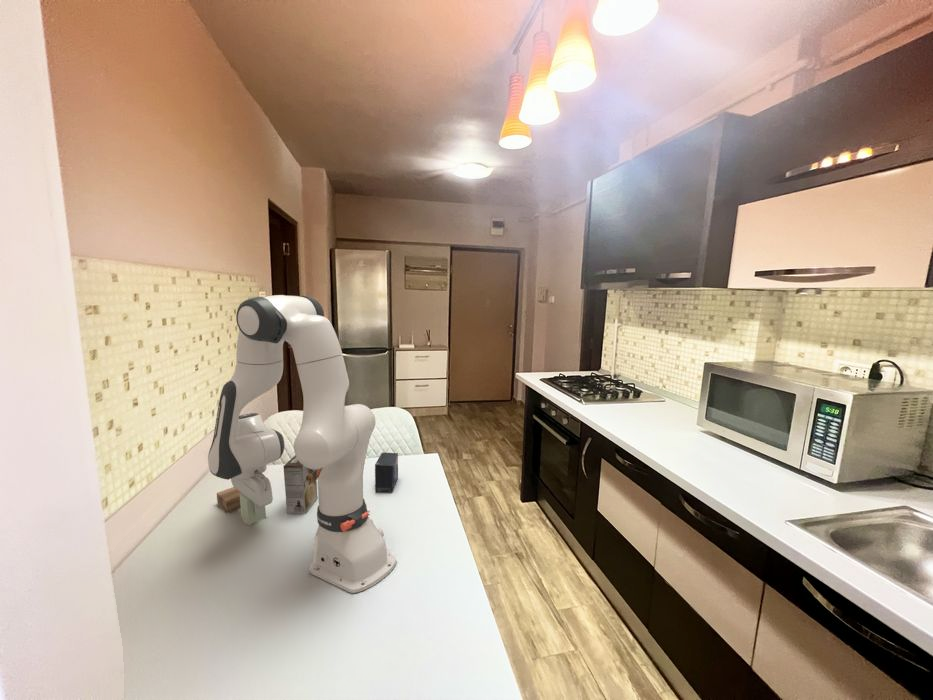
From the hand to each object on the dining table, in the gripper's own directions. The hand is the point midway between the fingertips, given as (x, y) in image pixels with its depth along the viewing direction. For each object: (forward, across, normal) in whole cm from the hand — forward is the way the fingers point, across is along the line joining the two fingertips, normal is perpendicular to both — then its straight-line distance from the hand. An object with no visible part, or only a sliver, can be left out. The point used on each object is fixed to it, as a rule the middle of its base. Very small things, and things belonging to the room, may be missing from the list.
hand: (253, 508), depth 116 cm
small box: (+3, -16, -39) cm, 42 cm away
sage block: (+3, 0, 0) cm, 3 cm away
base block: (+3, +13, 0) cm, 13 cm away
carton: (+4, +13, -26) cm, 29 cm away
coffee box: (+3, -5, -13) cm, 14 cm away
